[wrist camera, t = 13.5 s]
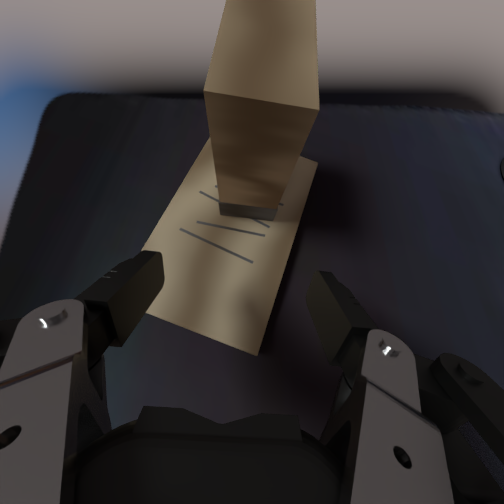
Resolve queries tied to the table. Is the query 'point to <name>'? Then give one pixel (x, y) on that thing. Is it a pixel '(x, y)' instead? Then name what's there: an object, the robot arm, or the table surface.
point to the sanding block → (261, 101)
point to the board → (224, 257)
